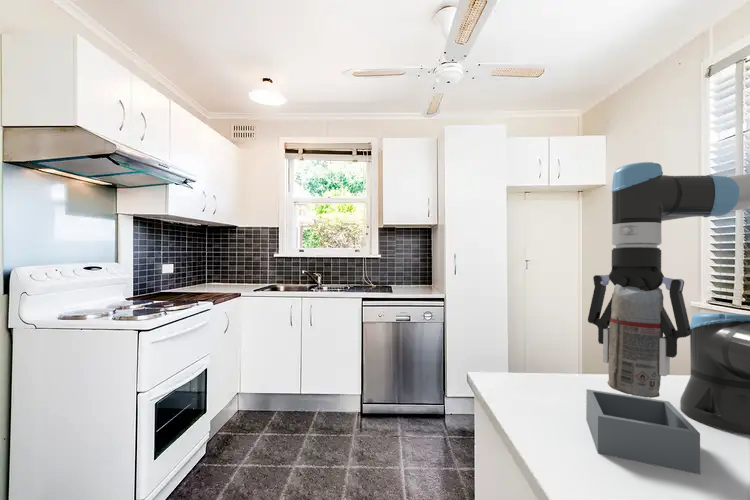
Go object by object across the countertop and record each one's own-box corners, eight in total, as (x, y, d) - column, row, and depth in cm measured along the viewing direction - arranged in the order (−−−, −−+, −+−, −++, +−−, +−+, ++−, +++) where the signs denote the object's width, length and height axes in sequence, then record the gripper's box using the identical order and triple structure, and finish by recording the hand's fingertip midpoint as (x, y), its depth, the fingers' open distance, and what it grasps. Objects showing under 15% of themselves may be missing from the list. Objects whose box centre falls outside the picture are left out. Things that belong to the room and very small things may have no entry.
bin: (668, 434, 69) (668, 401, 69) (700, 474, 56) (700, 433, 56) (586, 419, 74) (586, 389, 75) (597, 452, 62) (598, 415, 62)
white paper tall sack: (664, 390, 66) (664, 284, 66) (662, 403, 60) (662, 286, 60) (610, 379, 71) (611, 281, 72) (603, 390, 65) (604, 283, 66)
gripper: (568, 246, 72) (567, 356, 72) (705, 245, 55) (705, 389, 55) (585, 247, 77) (584, 351, 76) (717, 247, 60) (716, 380, 59)
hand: (634, 367), depth 66 cm, fingers closed on white paper tall sack, 8 cm apart
